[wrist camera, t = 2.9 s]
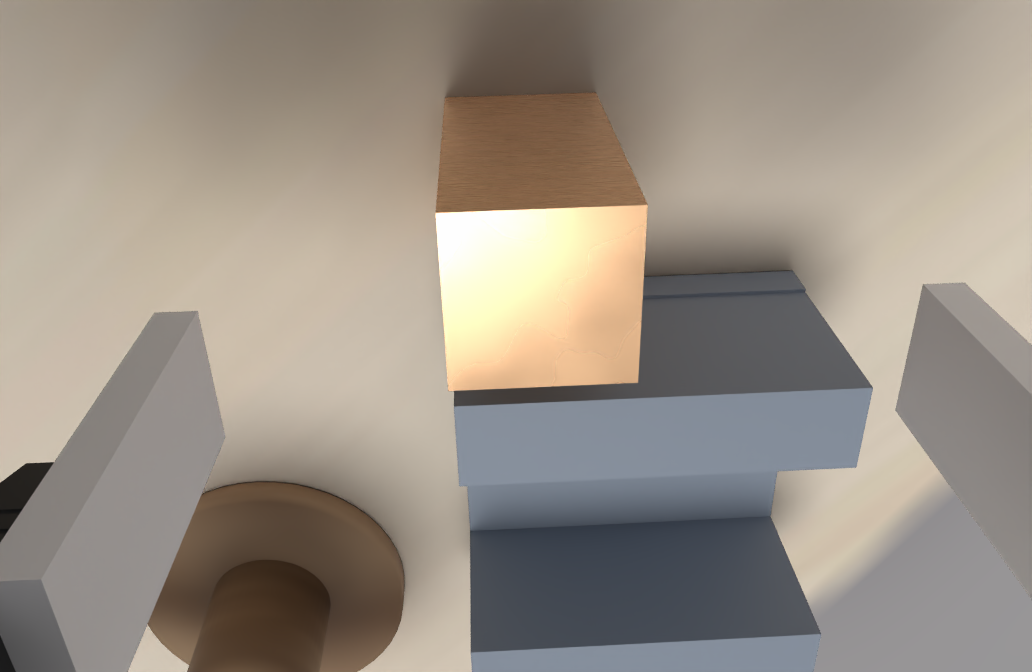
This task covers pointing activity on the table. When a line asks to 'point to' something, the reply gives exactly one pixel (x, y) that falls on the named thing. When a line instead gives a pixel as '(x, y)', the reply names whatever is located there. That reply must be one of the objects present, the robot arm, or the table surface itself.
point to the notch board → (659, 490)
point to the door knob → (280, 584)
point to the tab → (538, 244)
